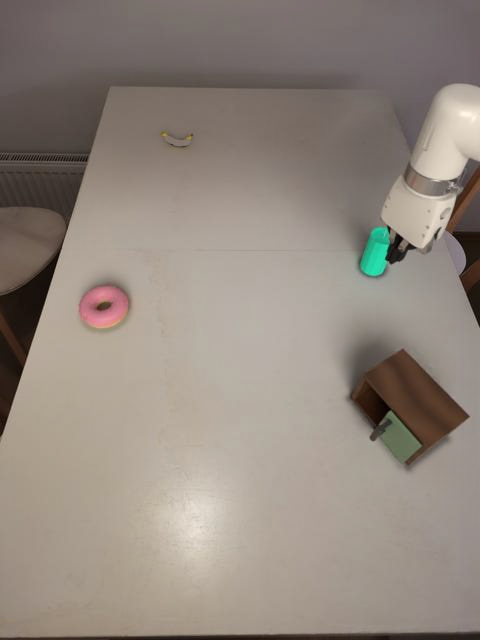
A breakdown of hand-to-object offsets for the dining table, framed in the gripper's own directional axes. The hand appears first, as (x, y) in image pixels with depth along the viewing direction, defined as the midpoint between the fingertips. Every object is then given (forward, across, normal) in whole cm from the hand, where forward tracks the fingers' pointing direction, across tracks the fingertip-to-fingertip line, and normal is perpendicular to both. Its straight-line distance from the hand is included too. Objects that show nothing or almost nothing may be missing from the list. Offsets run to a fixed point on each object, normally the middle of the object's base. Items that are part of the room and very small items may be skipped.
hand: (393, 259), depth 80 cm
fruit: (+21, +82, +2) cm, 84 cm away
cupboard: (+21, -20, +10) cm, 31 cm away
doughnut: (+21, +35, +47) cm, 62 cm away
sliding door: (+21, -23, +18) cm, 36 cm away
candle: (+21, +12, -14) cm, 28 cm away
